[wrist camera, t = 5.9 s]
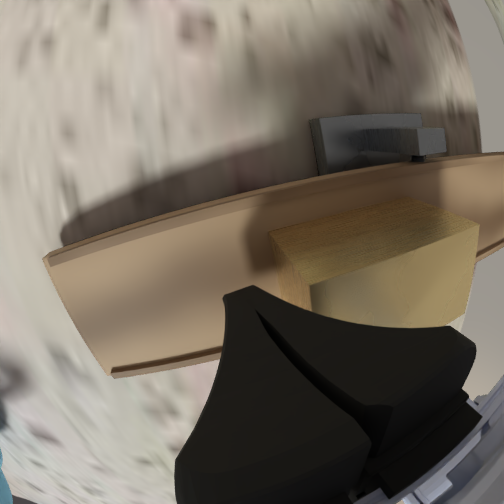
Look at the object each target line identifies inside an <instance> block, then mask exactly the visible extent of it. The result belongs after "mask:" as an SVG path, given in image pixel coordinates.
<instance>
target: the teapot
mask: <svg viewBox="0 0 504 504" xmlns="http://www.w3.org/2000/svg"><path fill="white" fill-rule="evenodd" d="M1 466H2V452H1V449H0V504H13V499H12V494H11V491H10V488H9V485H8V483H7V481H6V479H5V476H4V474H3V472H2V470H1Z"/></svg>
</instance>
